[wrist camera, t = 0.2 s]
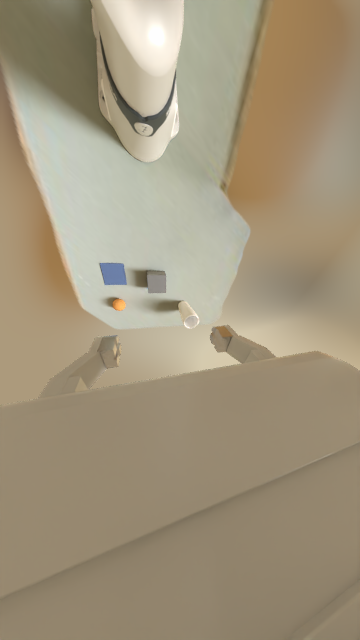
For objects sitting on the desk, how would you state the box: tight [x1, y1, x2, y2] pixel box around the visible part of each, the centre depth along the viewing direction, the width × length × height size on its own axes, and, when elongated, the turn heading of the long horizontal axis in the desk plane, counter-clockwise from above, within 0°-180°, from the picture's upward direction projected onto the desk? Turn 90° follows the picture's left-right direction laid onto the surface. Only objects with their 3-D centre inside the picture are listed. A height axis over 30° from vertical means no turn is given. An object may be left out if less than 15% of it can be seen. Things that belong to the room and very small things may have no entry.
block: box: [147, 271, 166, 293], centre depth 52 cm, size 7×7×6 cm
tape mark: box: [100, 263, 127, 285], centre depth 50 cm, size 8×8×1 cm
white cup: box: [178, 301, 199, 328], centre depth 59 cm, size 7×7×15 cm
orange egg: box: [113, 299, 125, 311], centre depth 54 cm, size 5×5×5 cm
